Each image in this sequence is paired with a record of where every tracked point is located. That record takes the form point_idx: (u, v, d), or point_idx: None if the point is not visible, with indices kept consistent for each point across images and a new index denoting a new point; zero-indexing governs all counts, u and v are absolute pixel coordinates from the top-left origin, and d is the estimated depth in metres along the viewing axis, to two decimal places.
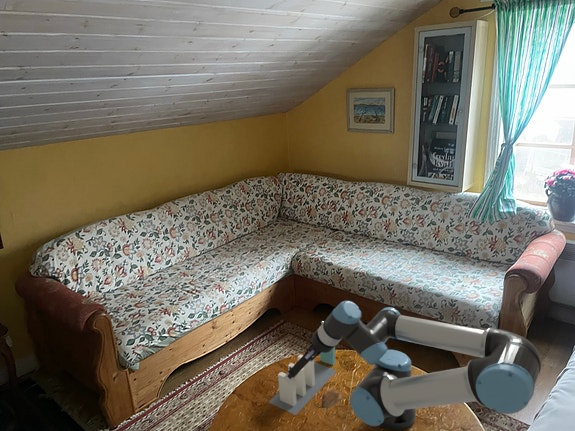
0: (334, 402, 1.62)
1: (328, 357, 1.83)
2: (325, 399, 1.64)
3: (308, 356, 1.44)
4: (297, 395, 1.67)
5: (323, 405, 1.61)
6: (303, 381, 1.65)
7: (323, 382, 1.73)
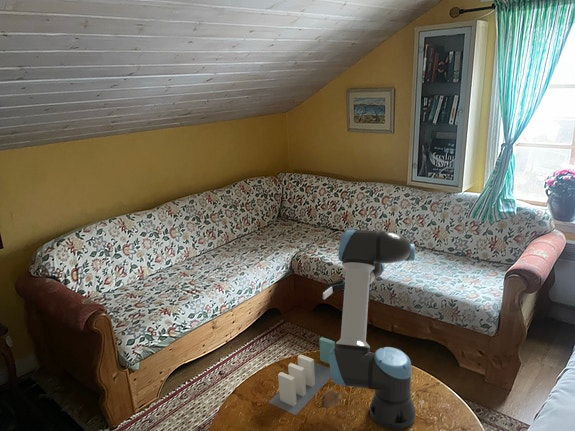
0: (334, 402, 1.62)
1: (328, 357, 1.83)
2: (325, 399, 1.64)
3: None
4: (297, 395, 1.67)
5: (323, 405, 1.61)
6: (303, 381, 1.65)
7: (323, 382, 1.73)
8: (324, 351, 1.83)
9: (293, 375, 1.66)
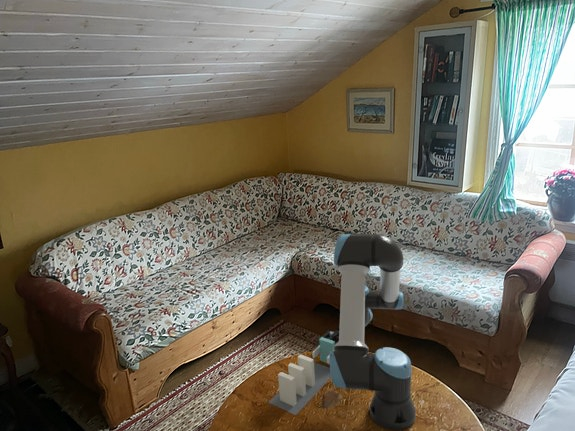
0: (334, 402, 1.62)
1: None
2: (325, 399, 1.64)
3: None
4: (297, 395, 1.67)
5: (323, 405, 1.61)
6: (303, 381, 1.65)
7: (323, 382, 1.73)
8: (324, 351, 1.83)
9: (293, 375, 1.66)
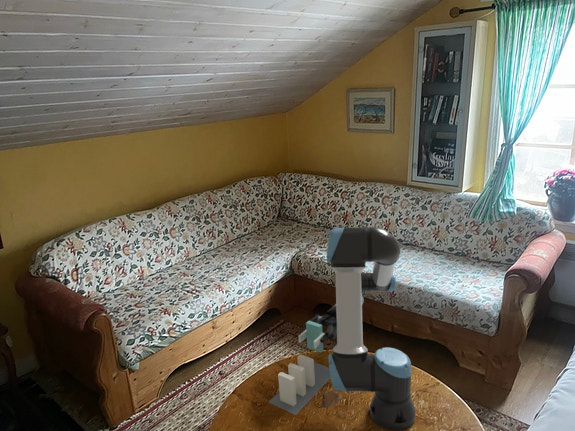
0: (334, 402, 1.62)
1: None
2: (325, 399, 1.64)
3: None
4: (297, 395, 1.67)
5: (323, 405, 1.61)
6: (303, 381, 1.65)
7: (323, 382, 1.73)
8: (311, 335, 1.73)
9: (293, 375, 1.66)
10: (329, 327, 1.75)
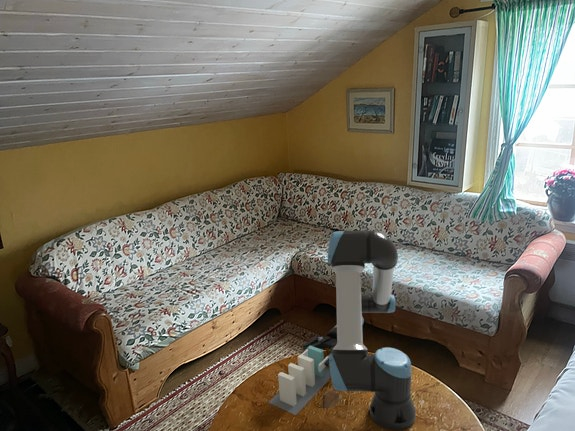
0: (335, 402, 1.62)
1: (316, 366, 1.76)
2: (325, 399, 1.64)
3: None
4: (297, 395, 1.67)
5: (324, 405, 1.61)
6: (303, 381, 1.65)
7: (323, 382, 1.73)
8: None
9: (293, 375, 1.66)
10: (332, 350, 1.78)
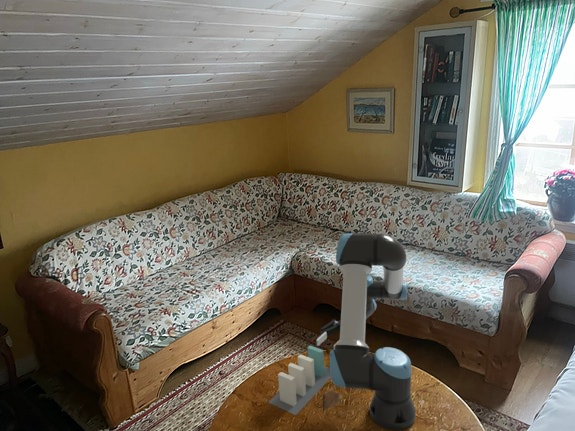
0: (335, 402, 1.62)
1: (316, 366, 1.76)
2: (326, 399, 1.64)
3: None
4: (297, 395, 1.67)
5: (324, 405, 1.61)
6: (303, 381, 1.65)
7: (323, 382, 1.73)
8: None
9: (293, 375, 1.66)
10: None
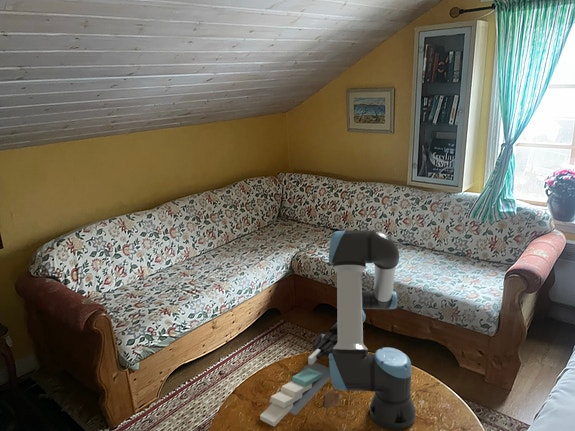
0: (335, 402, 1.62)
1: None
2: (326, 399, 1.64)
3: None
4: None
5: (324, 405, 1.61)
6: (292, 401, 1.61)
7: (323, 382, 1.73)
8: None
9: None
10: (328, 344, 1.80)
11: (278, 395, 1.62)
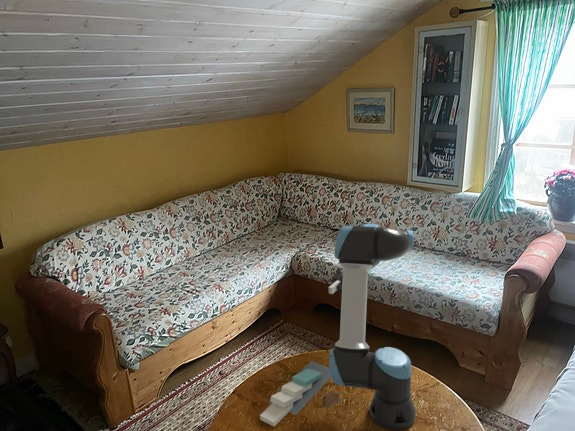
0: (335, 402, 1.62)
1: None
2: (326, 399, 1.64)
3: None
4: None
5: (324, 405, 1.61)
6: (292, 401, 1.61)
7: (323, 382, 1.73)
8: None
9: None
10: None
11: (278, 395, 1.62)
